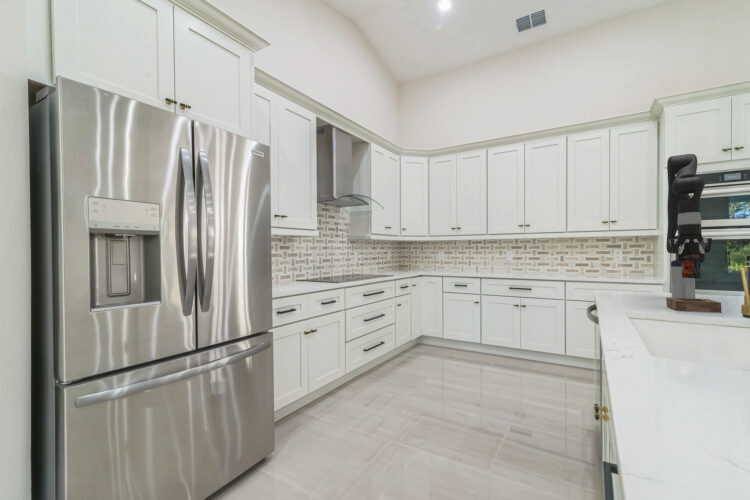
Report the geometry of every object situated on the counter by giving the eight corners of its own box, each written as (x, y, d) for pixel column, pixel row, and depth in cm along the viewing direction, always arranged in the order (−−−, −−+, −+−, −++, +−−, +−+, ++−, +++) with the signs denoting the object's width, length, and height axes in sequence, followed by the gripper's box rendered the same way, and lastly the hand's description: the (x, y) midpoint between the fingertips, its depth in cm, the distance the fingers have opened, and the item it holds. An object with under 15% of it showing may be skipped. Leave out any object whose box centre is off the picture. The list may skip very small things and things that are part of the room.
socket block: (666, 306, 157) (666, 297, 157) (707, 308, 151) (706, 298, 151) (676, 310, 145) (676, 301, 145) (721, 312, 138) (721, 302, 138)
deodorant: (704, 278, 145) (703, 242, 145) (690, 278, 145) (689, 242, 146) (692, 277, 151) (690, 243, 151) (678, 277, 151) (677, 243, 151)
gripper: (707, 223, 149) (709, 262, 148) (665, 225, 155) (666, 262, 155) (715, 222, 142) (716, 262, 142) (670, 224, 149) (671, 263, 148)
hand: (690, 262), depth 148 cm, fingers closed on deodorant, 6 cm apart
